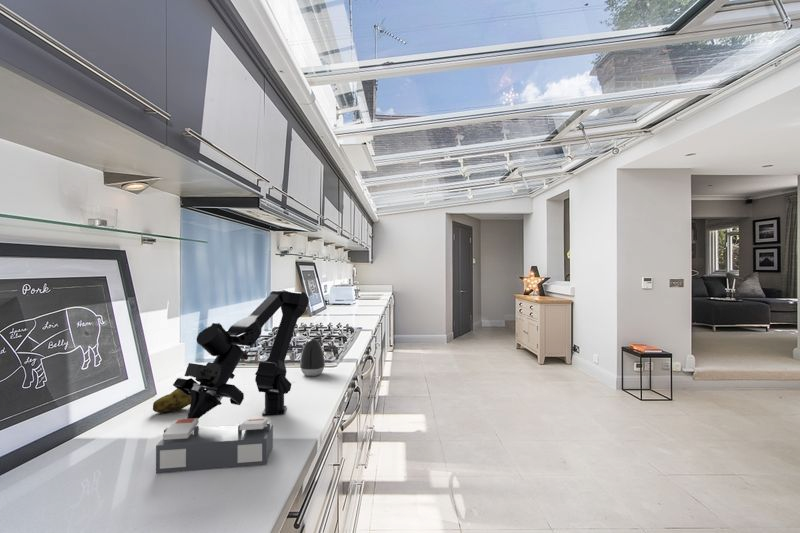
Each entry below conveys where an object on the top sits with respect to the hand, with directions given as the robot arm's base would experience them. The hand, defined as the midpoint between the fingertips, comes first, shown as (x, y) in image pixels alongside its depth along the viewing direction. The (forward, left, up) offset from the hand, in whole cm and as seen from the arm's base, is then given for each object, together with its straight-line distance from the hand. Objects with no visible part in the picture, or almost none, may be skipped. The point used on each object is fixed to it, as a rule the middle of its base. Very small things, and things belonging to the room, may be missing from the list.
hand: (188, 423), depth 94 cm
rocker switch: (+4, +16, 0) cm, 16 cm away
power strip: (+4, +8, -7) cm, 11 cm away
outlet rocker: (+4, 0, 0) cm, 4 cm away
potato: (-32, -14, -8) cm, 36 cm away
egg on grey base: (-68, +25, -8) cm, 73 cm away
